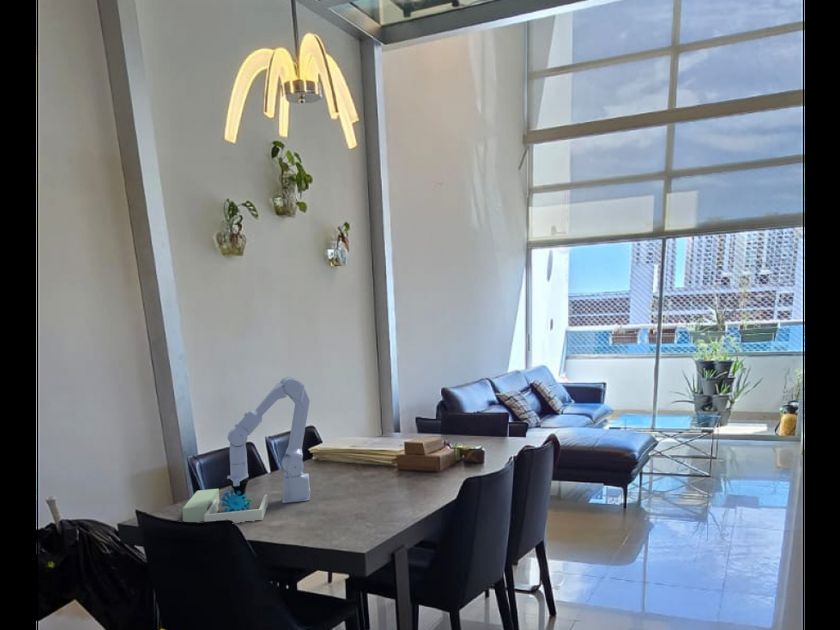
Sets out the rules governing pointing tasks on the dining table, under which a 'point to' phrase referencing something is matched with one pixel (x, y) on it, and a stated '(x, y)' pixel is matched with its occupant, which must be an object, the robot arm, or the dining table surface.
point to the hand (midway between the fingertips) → (240, 501)
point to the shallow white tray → (236, 513)
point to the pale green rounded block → (199, 504)
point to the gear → (235, 501)
